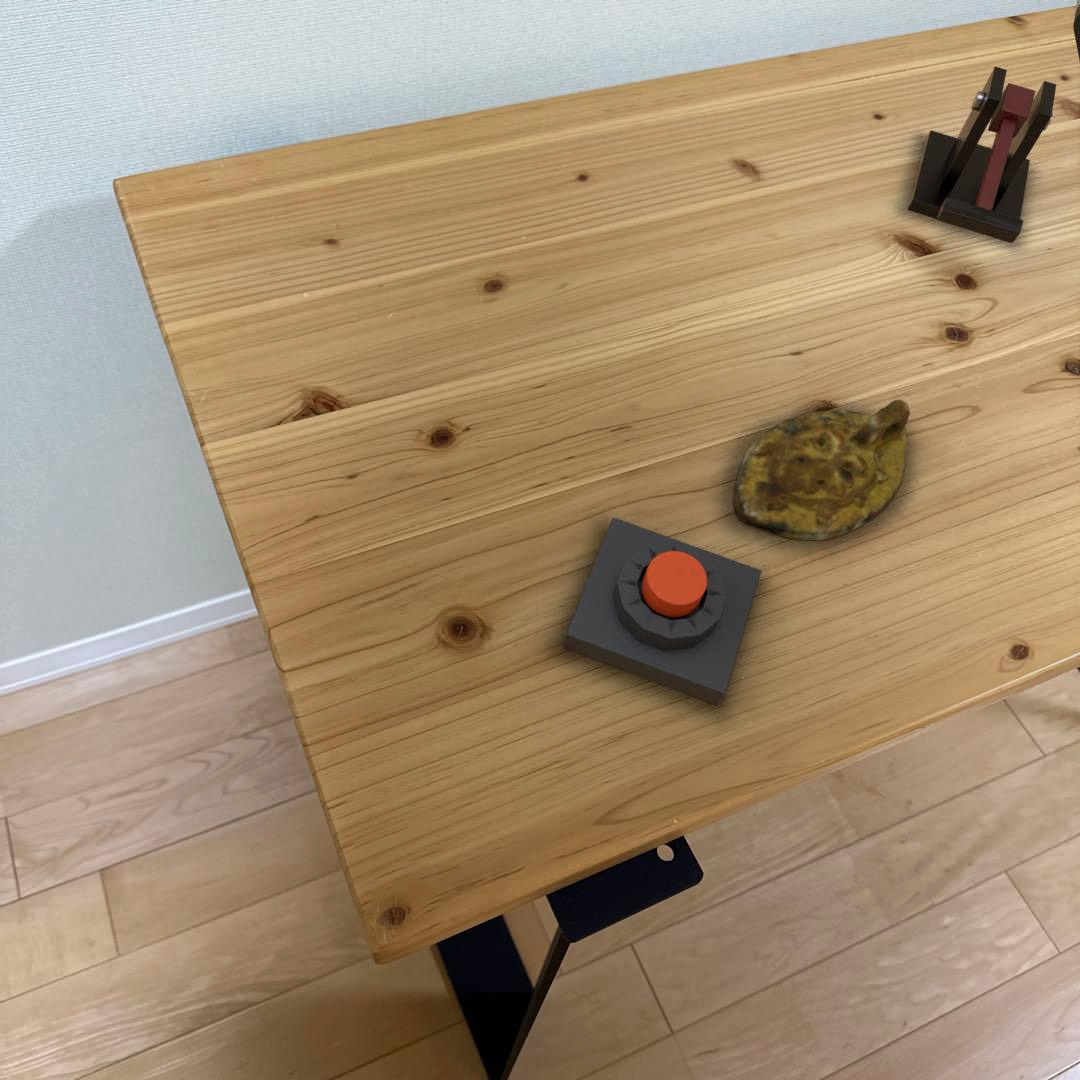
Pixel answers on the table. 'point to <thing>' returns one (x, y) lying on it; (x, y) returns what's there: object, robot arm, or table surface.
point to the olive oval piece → (823, 472)
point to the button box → (662, 616)
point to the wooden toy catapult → (979, 155)
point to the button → (674, 584)
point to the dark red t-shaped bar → (994, 172)
